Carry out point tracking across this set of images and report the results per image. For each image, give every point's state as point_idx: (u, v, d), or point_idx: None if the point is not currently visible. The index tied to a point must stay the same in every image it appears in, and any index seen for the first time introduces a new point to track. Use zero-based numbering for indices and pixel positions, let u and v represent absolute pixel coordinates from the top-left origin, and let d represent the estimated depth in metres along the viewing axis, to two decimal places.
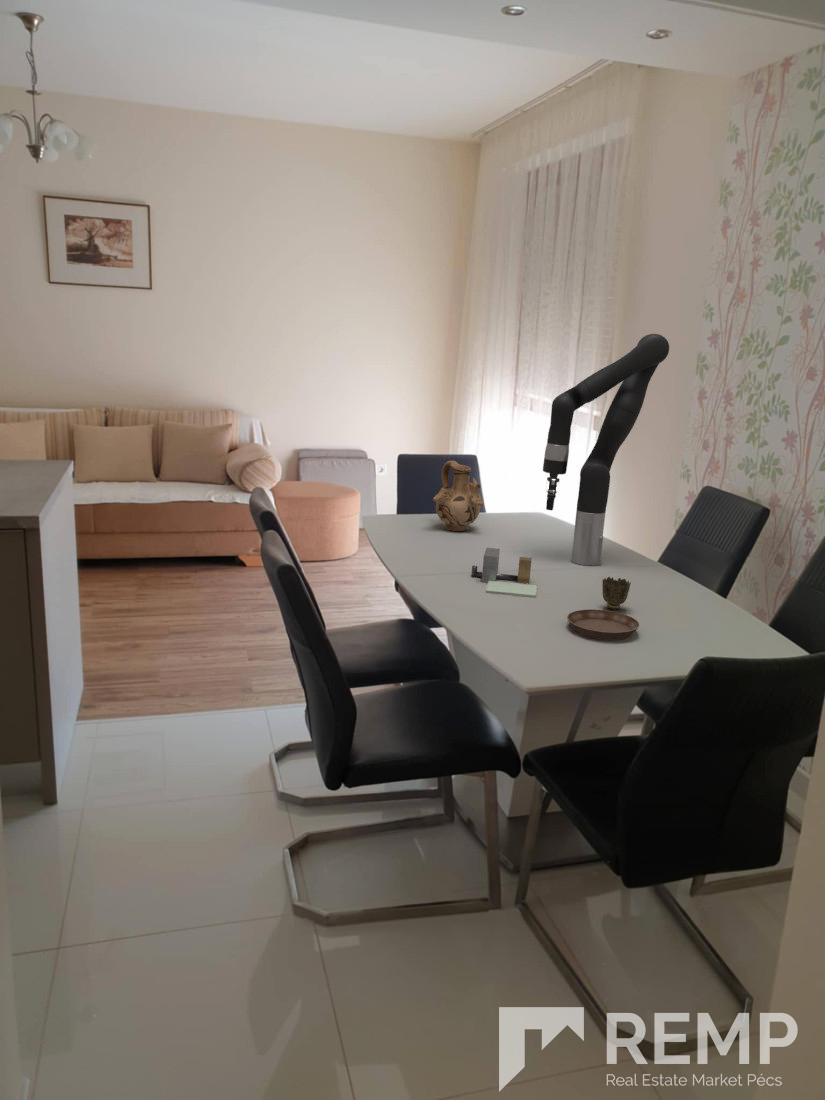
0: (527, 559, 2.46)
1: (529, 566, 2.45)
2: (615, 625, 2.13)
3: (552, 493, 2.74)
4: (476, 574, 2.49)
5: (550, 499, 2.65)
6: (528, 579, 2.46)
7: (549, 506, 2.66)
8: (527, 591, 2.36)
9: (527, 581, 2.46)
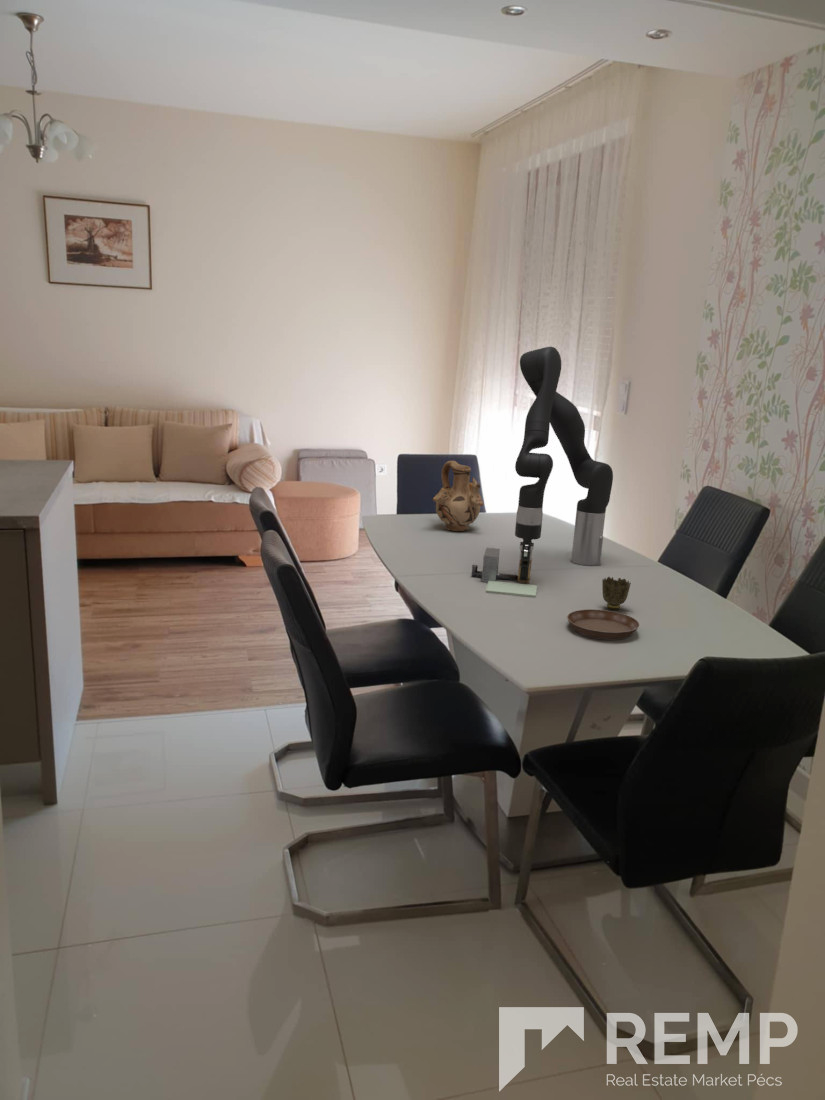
0: None
1: (529, 566, 2.45)
2: (615, 625, 2.13)
3: None
4: (476, 573, 2.49)
5: (524, 568, 2.44)
6: (528, 579, 2.46)
7: (523, 576, 2.45)
8: (527, 591, 2.36)
9: (527, 581, 2.46)
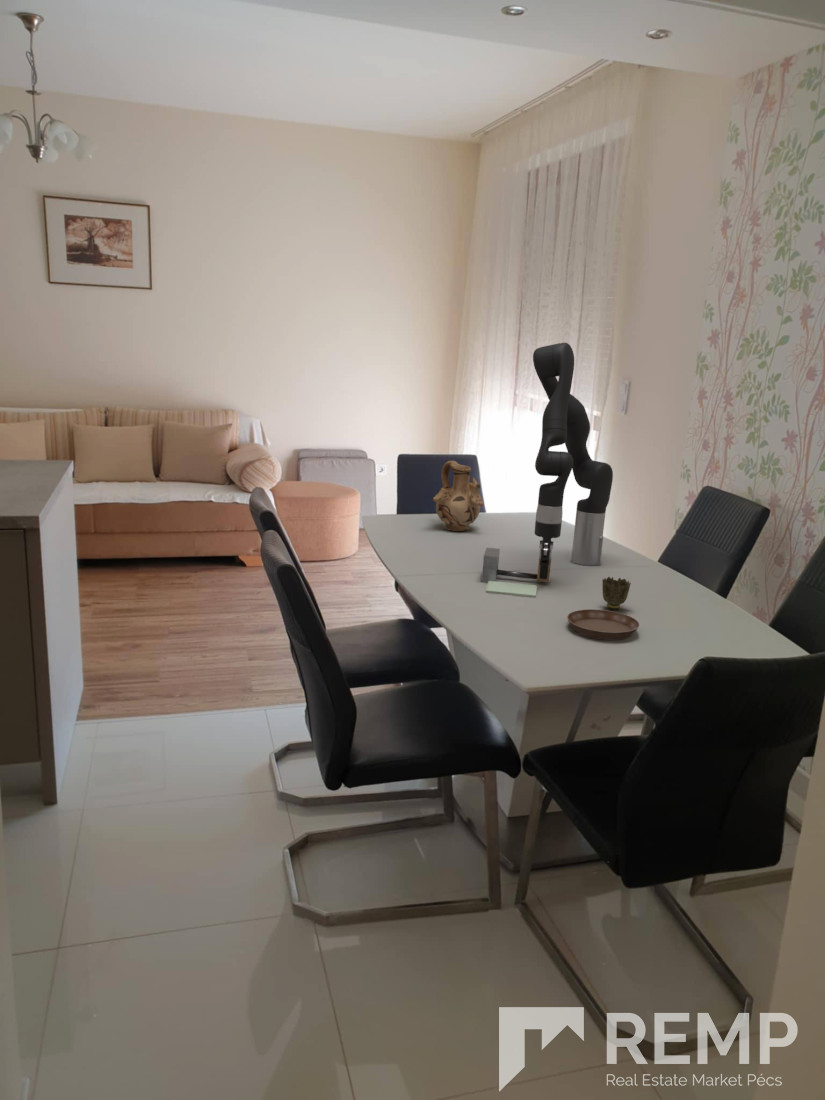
0: None
1: (549, 565, 2.44)
2: (615, 625, 2.13)
3: None
4: None
5: (543, 567, 2.43)
6: (548, 578, 2.45)
7: (542, 575, 2.44)
8: (527, 591, 2.36)
9: (547, 580, 2.45)
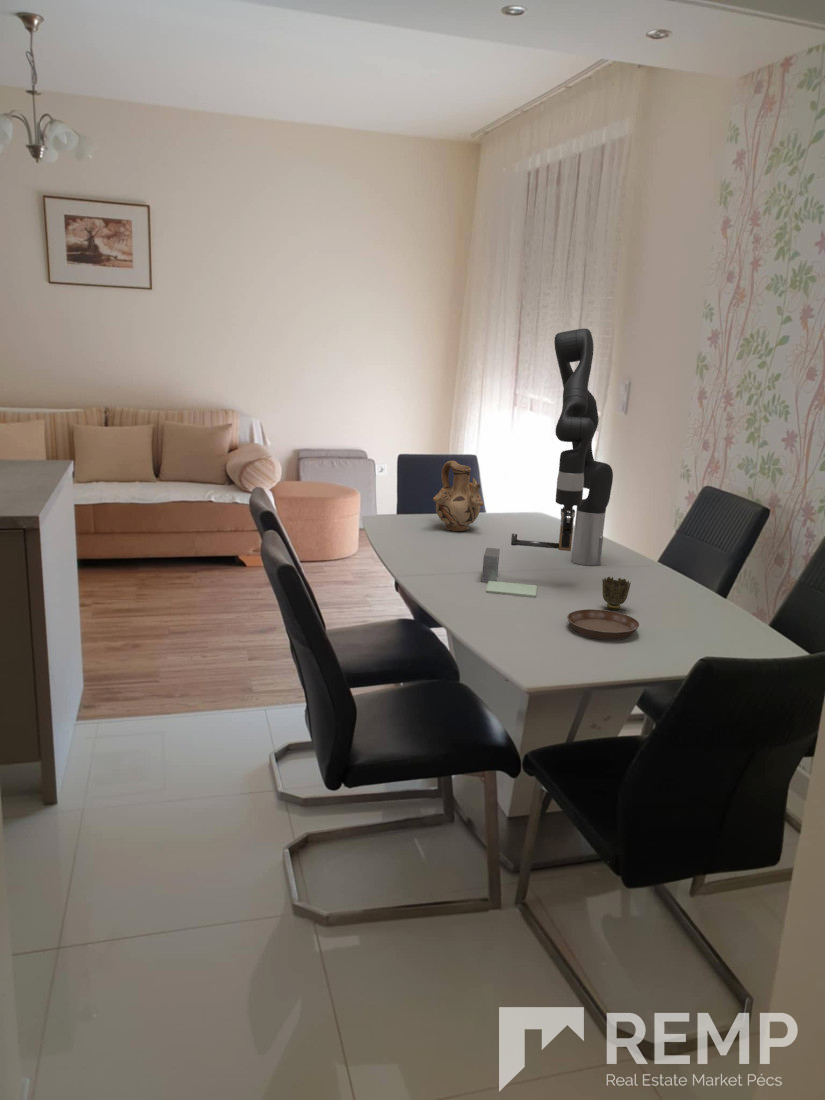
0: None
1: (571, 533, 2.40)
2: (615, 625, 2.13)
3: None
4: (516, 542, 2.44)
5: (565, 536, 2.39)
6: (570, 546, 2.41)
7: (565, 543, 2.40)
8: (527, 591, 2.36)
9: (569, 549, 2.42)
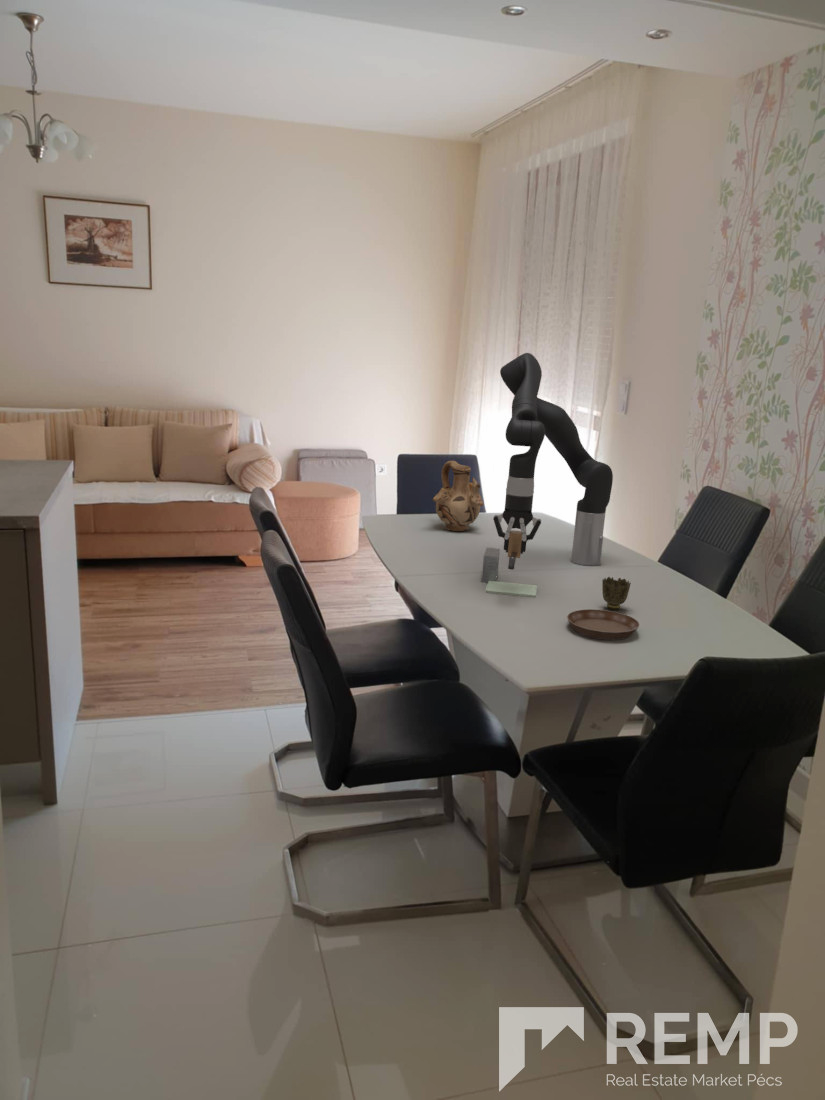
0: (518, 531, 2.35)
1: None
2: (615, 625, 2.13)
3: None
4: None
5: (526, 541, 2.35)
6: None
7: None
8: (527, 591, 2.36)
9: None
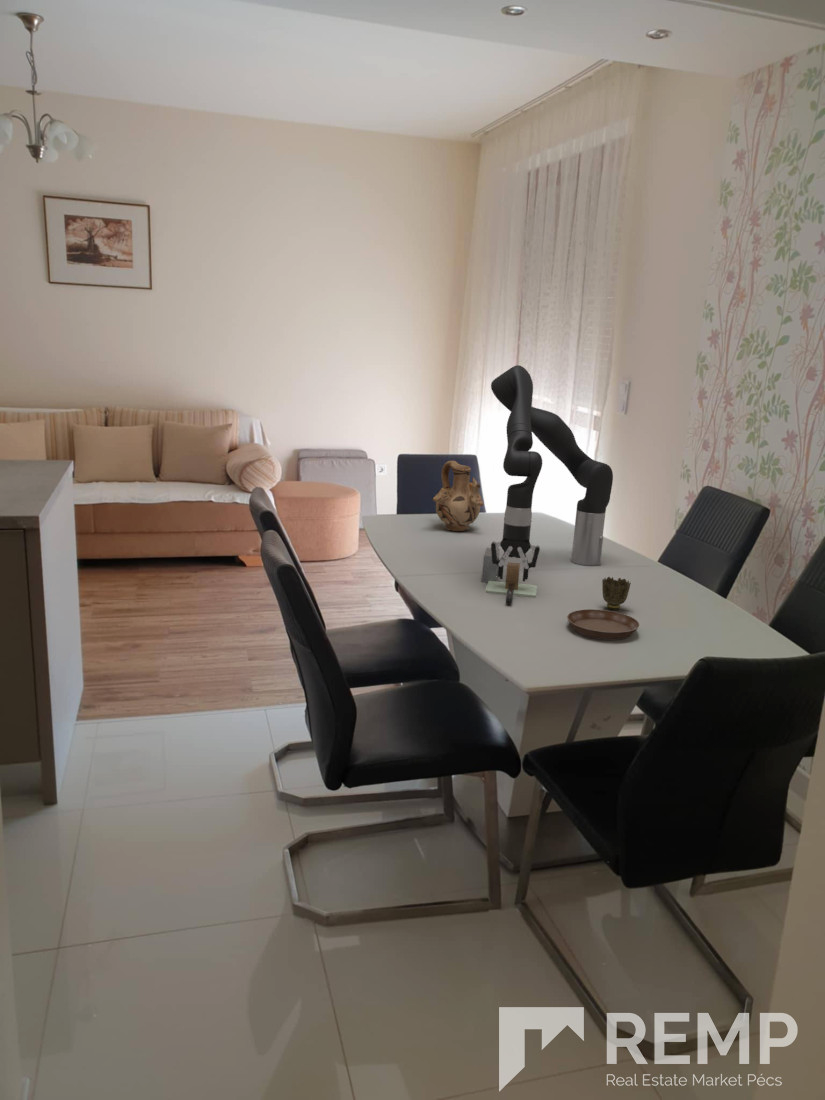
0: (516, 563, 2.38)
1: (519, 569, 2.39)
2: (615, 625, 2.13)
3: (502, 564, 2.38)
4: None
5: (528, 569, 2.37)
6: None
7: (527, 576, 2.37)
8: (527, 591, 2.36)
9: None
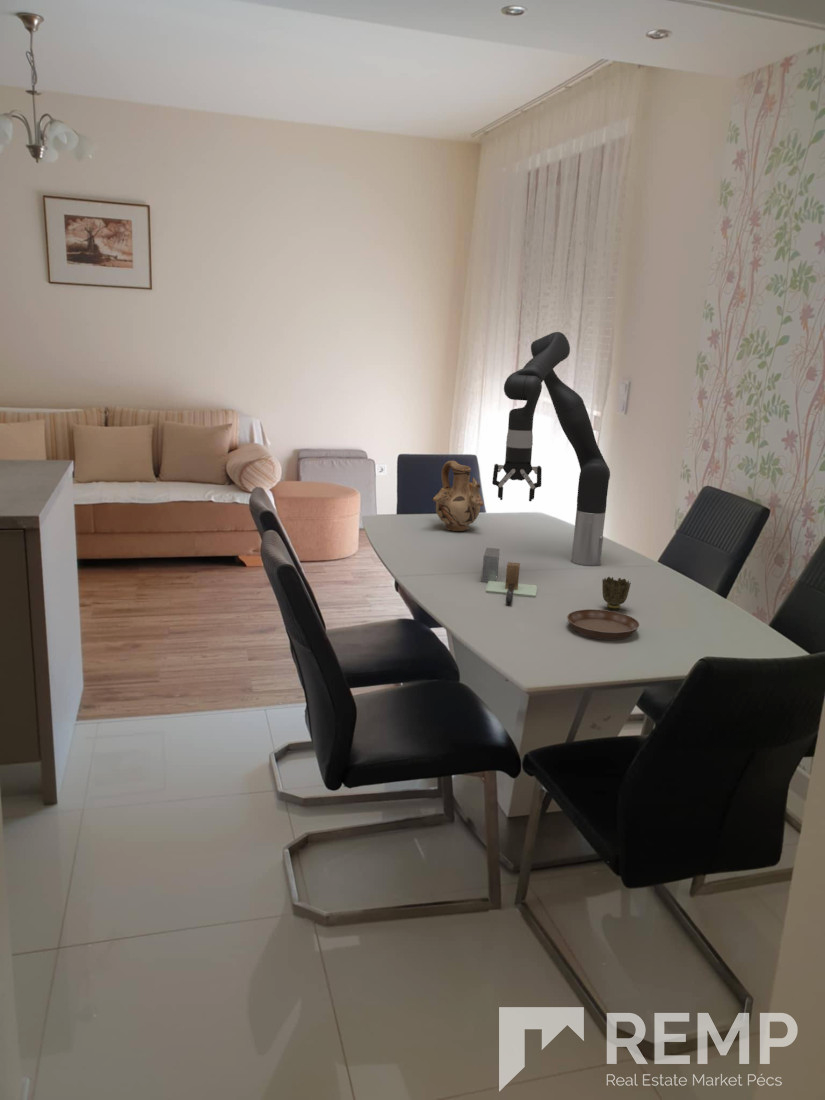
0: (516, 563, 2.38)
1: (519, 569, 2.39)
2: (615, 625, 2.13)
3: None
4: None
5: (534, 489, 2.45)
6: None
7: None
8: (527, 591, 2.36)
9: None
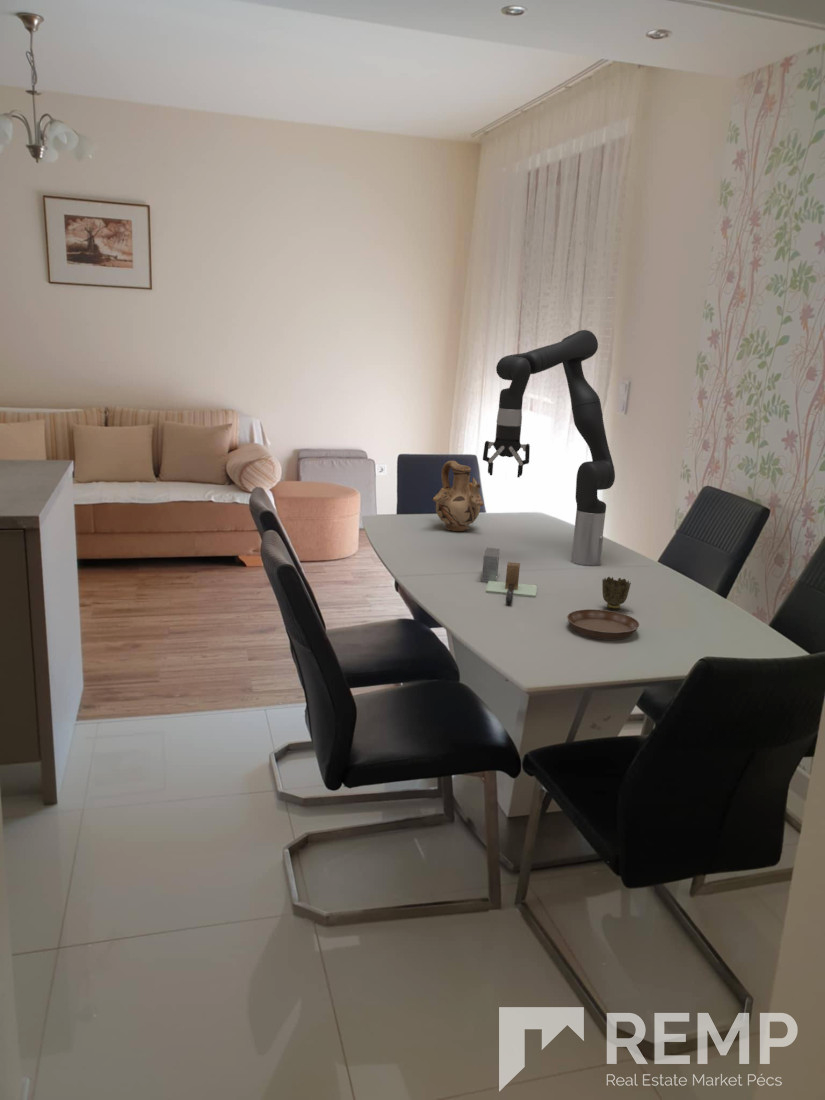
0: (516, 563, 2.38)
1: (519, 569, 2.39)
2: (615, 625, 2.13)
3: (492, 462, 2.60)
4: None
5: None
6: None
7: (521, 473, 2.58)
8: (527, 591, 2.36)
9: None
